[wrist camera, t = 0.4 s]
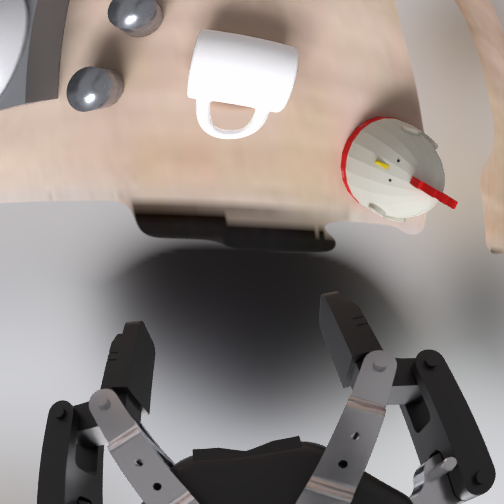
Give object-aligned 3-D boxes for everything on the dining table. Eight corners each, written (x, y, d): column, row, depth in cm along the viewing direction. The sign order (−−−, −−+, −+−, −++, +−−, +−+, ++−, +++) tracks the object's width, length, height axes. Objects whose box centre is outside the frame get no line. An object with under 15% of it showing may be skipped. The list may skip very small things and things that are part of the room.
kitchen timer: (362, 100, 33) (434, 114, 20) (430, 140, 37) (501, 170, 24) (326, 191, 40) (378, 244, 27) (397, 217, 43) (454, 268, 30)
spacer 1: (88, 71, 27) (67, 70, 22) (125, 67, 28) (109, 64, 22) (86, 109, 29) (66, 113, 24) (122, 106, 30) (106, 109, 25)
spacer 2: (126, 4, 23) (111, -10, 18) (165, 1, 24) (157, -15, 19) (120, 38, 25) (104, 30, 20) (160, 36, 26) (150, 25, 21)
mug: (203, 36, 27) (200, 21, 20) (285, 51, 29) (304, 42, 22) (184, 128, 33) (177, 138, 26) (264, 141, 35) (278, 153, 28)
